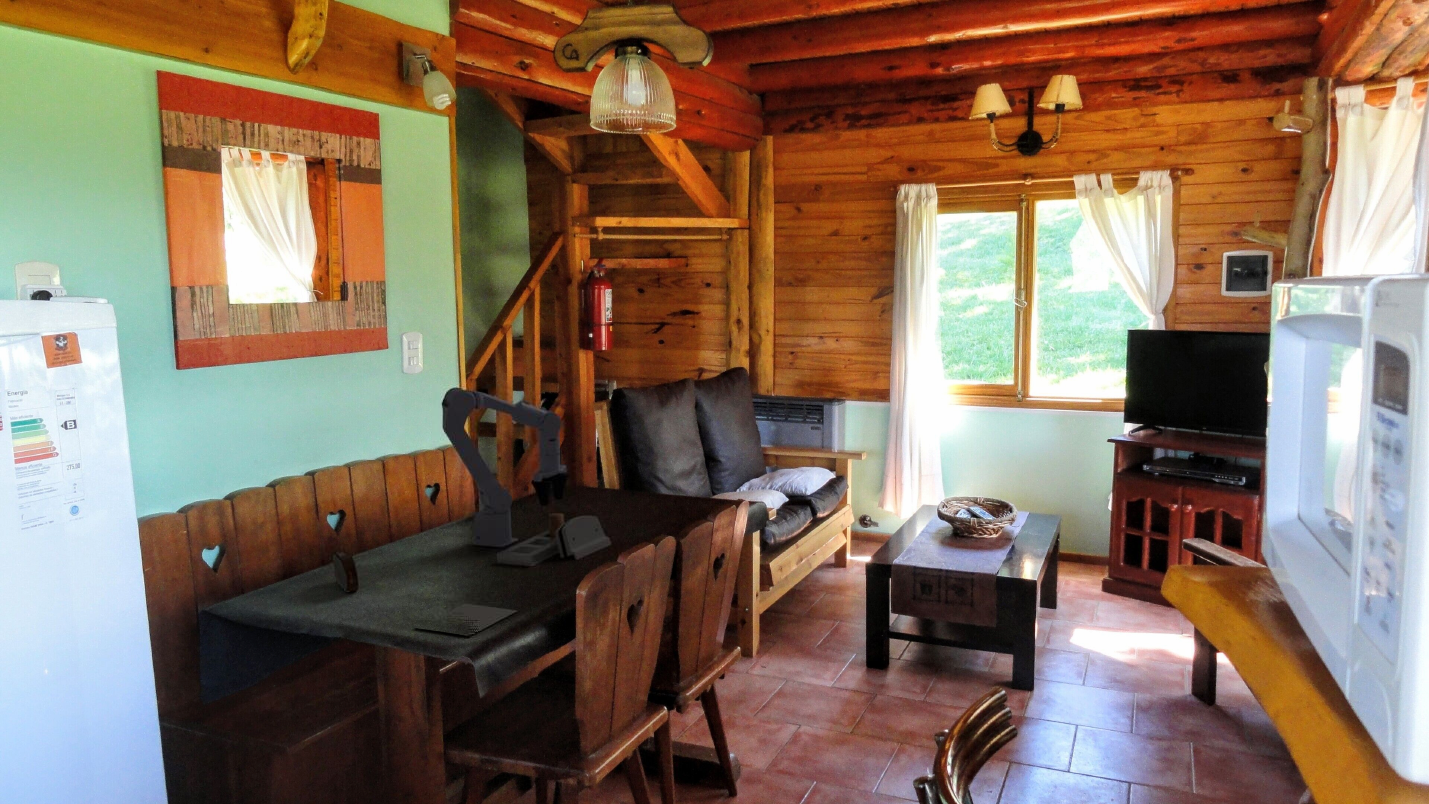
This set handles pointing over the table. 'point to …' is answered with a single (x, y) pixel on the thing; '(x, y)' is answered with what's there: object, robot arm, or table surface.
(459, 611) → the dark grey mat
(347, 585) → the tin
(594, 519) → the hinge
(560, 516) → the peg
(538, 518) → the table surface
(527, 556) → the tray
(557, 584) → the table surface
